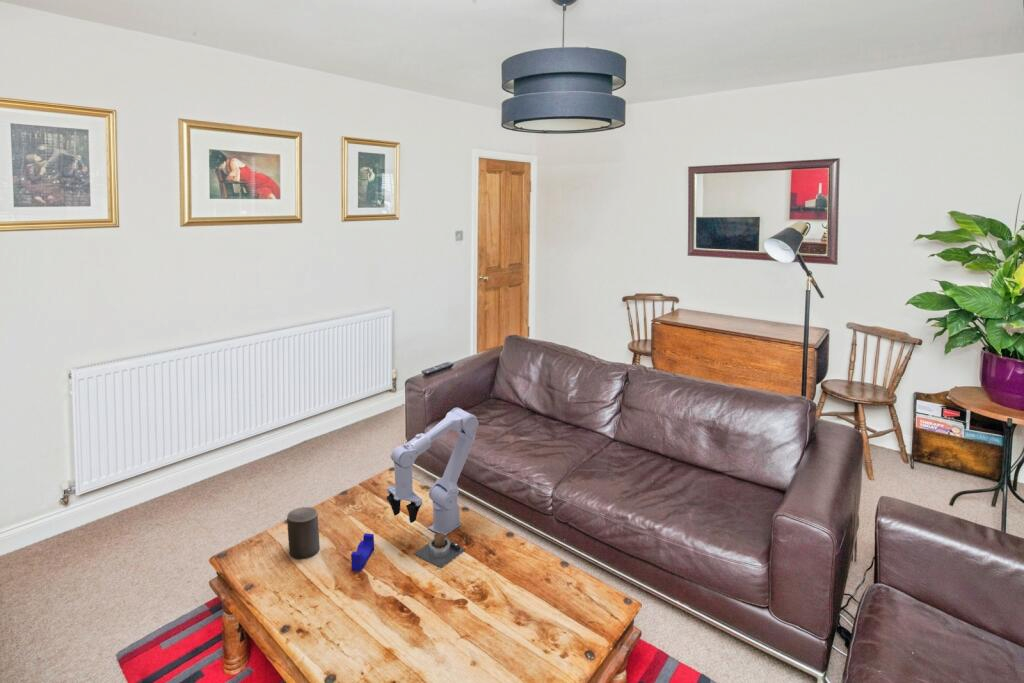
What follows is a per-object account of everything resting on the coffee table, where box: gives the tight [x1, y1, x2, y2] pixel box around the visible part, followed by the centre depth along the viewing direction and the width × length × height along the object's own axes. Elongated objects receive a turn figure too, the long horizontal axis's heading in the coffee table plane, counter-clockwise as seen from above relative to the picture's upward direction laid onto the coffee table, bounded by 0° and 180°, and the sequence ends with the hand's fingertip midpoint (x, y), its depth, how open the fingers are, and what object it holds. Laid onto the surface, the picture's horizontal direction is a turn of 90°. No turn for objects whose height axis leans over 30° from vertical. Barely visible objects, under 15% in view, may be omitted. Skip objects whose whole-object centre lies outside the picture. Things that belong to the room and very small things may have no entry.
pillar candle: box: [286, 506, 321, 560], centre depth 196 cm, size 10×10×15 cm
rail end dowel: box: [433, 532, 446, 548], centre depth 197 cm, size 4×4×6 cm
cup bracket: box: [413, 537, 466, 569], centre depth 197 cm, size 12×12×4 cm
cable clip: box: [350, 532, 375, 572], centre depth 193 cm, size 12×4×6 cm, turn 172°
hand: (404, 517), depth 200 cm, fingers open, 7 cm apart
